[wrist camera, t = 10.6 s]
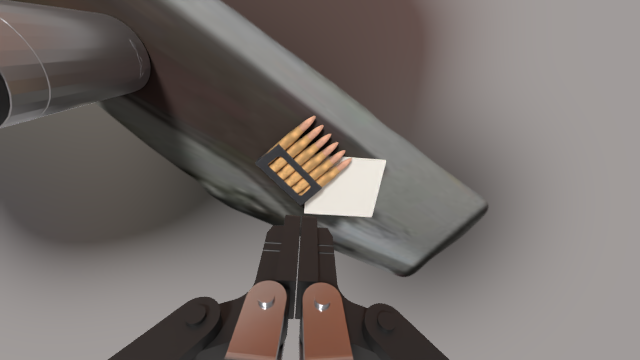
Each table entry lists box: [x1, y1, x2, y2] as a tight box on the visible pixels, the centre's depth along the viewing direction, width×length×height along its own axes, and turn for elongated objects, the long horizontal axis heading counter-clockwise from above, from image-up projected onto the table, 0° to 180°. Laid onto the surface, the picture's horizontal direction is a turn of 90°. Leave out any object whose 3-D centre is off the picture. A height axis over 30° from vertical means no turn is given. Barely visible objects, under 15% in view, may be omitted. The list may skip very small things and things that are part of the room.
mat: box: [304, 155, 386, 217], centre depth 42 cm, size 13×12×1 cm
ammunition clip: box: [256, 116, 352, 205], centre depth 38 cm, size 11×2×12 cm
